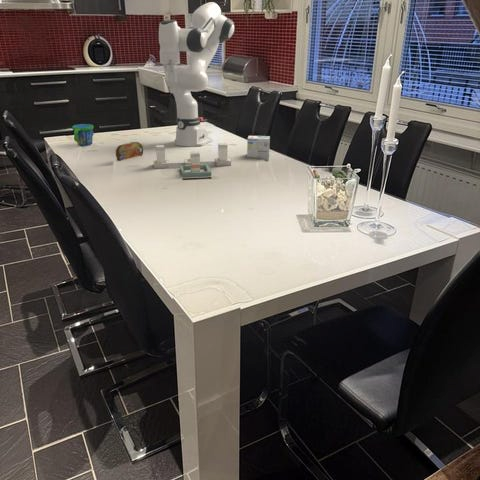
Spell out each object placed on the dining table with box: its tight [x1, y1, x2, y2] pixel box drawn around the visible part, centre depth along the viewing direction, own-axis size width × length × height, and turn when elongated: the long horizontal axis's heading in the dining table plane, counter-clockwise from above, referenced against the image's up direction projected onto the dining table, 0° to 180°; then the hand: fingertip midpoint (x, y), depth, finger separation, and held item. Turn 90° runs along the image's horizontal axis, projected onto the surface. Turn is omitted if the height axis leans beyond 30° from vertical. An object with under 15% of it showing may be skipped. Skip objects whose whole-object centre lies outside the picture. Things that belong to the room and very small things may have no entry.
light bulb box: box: [246, 135, 271, 161], centre depth 226 cm, size 11×7×11 cm, turn 84°
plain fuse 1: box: [155, 144, 166, 163], centre depth 206 cm, size 4×4×9 cm
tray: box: [179, 165, 212, 181], centre depth 200 cm, size 12×12×3 cm
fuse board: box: [153, 156, 232, 170], centre depth 210 cm, size 9×34×4 cm, turn 102°
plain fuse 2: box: [217, 142, 228, 161], centre depth 211 cm, size 4×4×9 cm
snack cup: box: [71, 123, 95, 147], centre depth 248 cm, size 16×10×10 cm
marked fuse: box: [189, 151, 201, 172], centre depth 198 cm, size 4×4×9 cm
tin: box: [115, 141, 144, 161], centre depth 220 cm, size 15×3×8 cm, turn 143°
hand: (171, 91), depth 214 cm, fingers open, 8 cm apart
